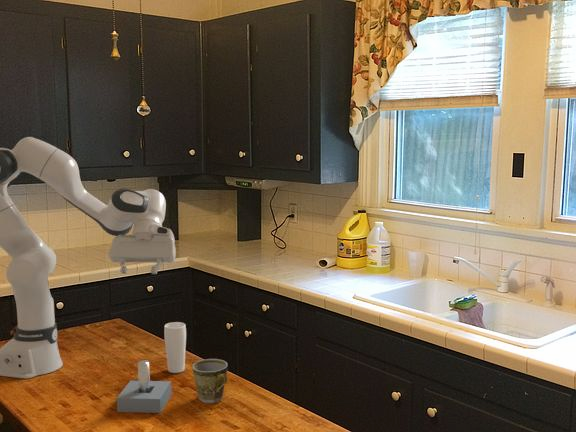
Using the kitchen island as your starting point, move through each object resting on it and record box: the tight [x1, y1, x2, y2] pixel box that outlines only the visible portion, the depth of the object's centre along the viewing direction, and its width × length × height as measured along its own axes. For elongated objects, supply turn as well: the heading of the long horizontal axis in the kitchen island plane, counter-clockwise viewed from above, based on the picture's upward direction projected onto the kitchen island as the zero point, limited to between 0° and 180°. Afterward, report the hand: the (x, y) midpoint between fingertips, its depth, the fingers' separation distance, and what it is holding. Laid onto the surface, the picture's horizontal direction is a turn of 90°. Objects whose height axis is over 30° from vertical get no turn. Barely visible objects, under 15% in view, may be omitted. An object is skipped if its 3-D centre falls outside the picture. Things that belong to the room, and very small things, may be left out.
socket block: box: [116, 380, 173, 414], centre depth 182 cm, size 12×12×4 cm
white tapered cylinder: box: [163, 321, 187, 374], centre depth 204 cm, size 7×7×15 cm
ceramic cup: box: [192, 358, 229, 404], centre depth 183 cm, size 13×10×10 cm
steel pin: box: [137, 359, 151, 393], centre depth 181 cm, size 3×3×12 cm
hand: (138, 272), depth 195 cm, fingers open, 8 cm apart
